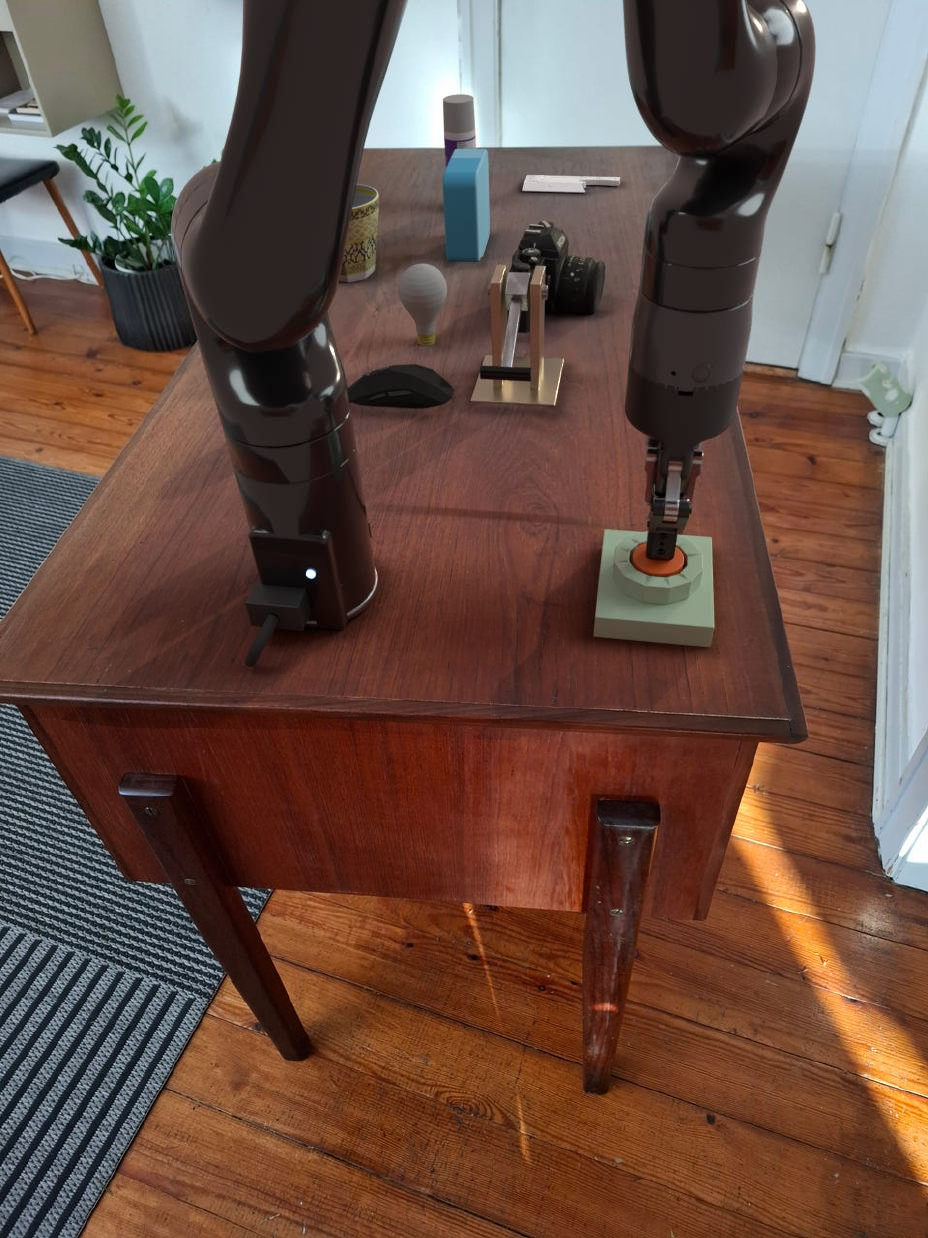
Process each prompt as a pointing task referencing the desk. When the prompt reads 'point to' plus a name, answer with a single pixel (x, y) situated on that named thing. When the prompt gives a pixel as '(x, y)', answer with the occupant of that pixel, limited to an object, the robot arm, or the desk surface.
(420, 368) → the gaming mouse
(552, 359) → the bracket
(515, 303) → the lever
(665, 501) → the robot arm
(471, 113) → the container
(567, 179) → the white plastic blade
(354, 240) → the ceramic cup
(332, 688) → the desk surface
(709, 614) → the button block
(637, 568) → the button
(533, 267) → the film camera
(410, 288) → the light bulb
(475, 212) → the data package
